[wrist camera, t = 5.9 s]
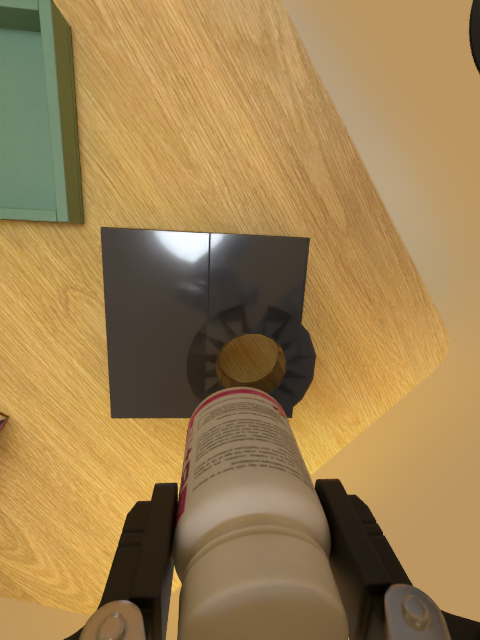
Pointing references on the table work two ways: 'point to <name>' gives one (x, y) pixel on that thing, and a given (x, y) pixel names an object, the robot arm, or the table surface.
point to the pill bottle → (251, 529)
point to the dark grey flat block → (200, 316)
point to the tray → (38, 115)
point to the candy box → (2, 421)
